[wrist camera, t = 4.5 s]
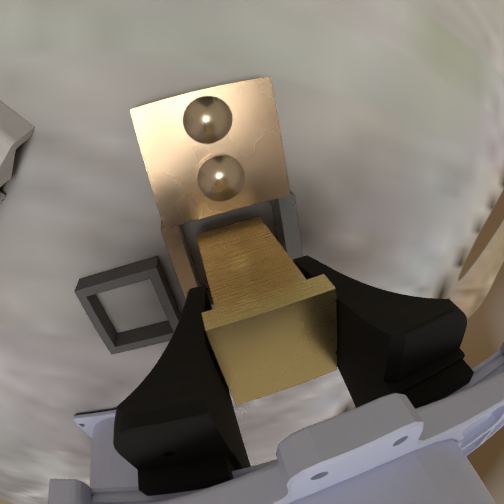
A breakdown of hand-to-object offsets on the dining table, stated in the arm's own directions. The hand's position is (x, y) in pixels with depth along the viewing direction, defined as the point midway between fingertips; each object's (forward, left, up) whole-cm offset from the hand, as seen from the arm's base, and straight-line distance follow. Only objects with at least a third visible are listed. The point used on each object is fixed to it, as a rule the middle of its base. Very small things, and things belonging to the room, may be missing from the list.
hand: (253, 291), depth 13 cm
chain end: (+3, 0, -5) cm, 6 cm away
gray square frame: (-2, +7, -5) cm, 8 cm away
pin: (0, 0, -3) cm, 3 cm away
